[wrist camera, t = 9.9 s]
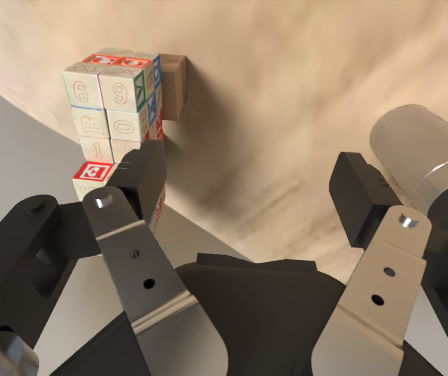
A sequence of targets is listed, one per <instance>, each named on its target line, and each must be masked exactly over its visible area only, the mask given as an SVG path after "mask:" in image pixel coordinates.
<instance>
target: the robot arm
mask: <svg viewBox="0 0 448 376" xmlns="http://www.w3.org/2000/svg"><path fill="white" fill-rule="evenodd" d="M370 145H371V148H372V150H373V151H374V152H375V154H376V155H377V156H378V158H379V159H380V160H381V162H382V163H383V165H384V166H385V167H386V169H387V170H388V171H389V173H390V174H391V175H392V177H393V178H394V179H395V180H396V182H397V183H398V184H399V186H400V187H401V188H402V190H403V191H404V192H405V194H406V195H407V196H408V198H409V199H410V200H411V202H412V203H413V204H414V206H415V207H416V208H417V210H418V211H417V210H415V209H413V208H411V207H407V206H403V204H402V203H401V201H400V200H399V199H398V197H397V196H396V194H395V193H394V191H393V190H392V188H391V187H389V184H388V183H387V181H385V178H384V177H383V176H382V174H381V173H380V171H378V170H377V169H376V168H374V167H373V166H372V165H370V164H367V163H366V161H365V160H364V158H363V157H362V155H361V154H360V153H355V152H341V153H340V154H339V156H338V158H337V161H336V164H335V167H334V170H333V173H332V175H331V178H330V182H329V192H330V195H331V197H332V200H333V202H334V205H335V207H336V210H337V212H338V215H339V218H340V220H341V223H342V225H343V228H344V230H345V233H346V235H347V238H348V240H349V243H350V245H351V247H356V248H363V249H364V253H363V255H362V257H361V258H360V260H359V262H358V264H357V266H356V267H355V269H354V271H353V273H352V275H351V277H350V278H349V280H348V282H347V284H346V286H345V285H344V284H343V283H341V282H340V281H338V280H337V279H335V278H333V277H331V276H329V275H327V274H325V273H322V272H320V271H317V267H316V263H315V261H306V260H291V259H284V260H277V261H271V262H265V263H252V262H249V261H245V260H242V259H238V258H235V257H231V256H228V255H219V254H204V253H198V255H197V261H196V262H192V263H188V264H185V265H182V266H180V267H177V268H175V269H174V267H173V266H172V264H171V263H170V261H169V259H168V258H167V256H166V254H165V253H164V251H163V250H162V248H161V246H160V245H159V243H158V241H157V240H156V238H155V236H154V235H153V233H152V232H151V230H150V228H149V227H148V226H149V223H150V221H151V218H152V215H153V213H154V210H155V207H156V205H157V202H158V199H159V197H160V194H161V191H162V189H163V186H164V183H165V180H166V162H165V153H164V144H163V141H162V140H155V139H145V140H144V141H143V143H142V145H141V146H140V148H139V149H133V150H131V151H130V152H128V153H127V154H125V155H124V157H123V158H122V160H121V161H120V163H119V164H118V166H117V169H115V171H114V172H113V174H112V175H111V177H110V178H109V180H108V181H107V183H106V184H105V186H104V187H99V188H96V189H93V190H91V191H90V192H88V193H87V194H86V195H85V196H84V198H83V200H82V201H81V202H75V203H69V204H62V205H59V204H58V202H57V200H56V198H55V197H53V196H51V195H36V196H32V197H29V198H26V199H24V200H22V201H20V202H19V203H18V204H16V205H15V206H14V207H13V208H12V209H11V210H10V212H9V213H8V214H7V215H6V216H5V217H4V218H3V219H2V221H1V222H0V376H37V372H38V369H39V359H38V356H37V355H36V353H35V352H34V351H33V349H34V347H35V345H36V343H37V341H38V339H39V337H40V335H41V333H42V331H43V329H44V327H45V325H46V323H47V321H48V319H49V317H50V315H51V313H52V311H53V309H54V307H55V305H56V303H57V301H58V299H59V297H60V295H61V293H62V291H63V289H64V287H65V285H66V283H67V281H68V279H69V277H70V275H71V273H72V271H73V269H74V267H75V265H76V263H77V261H78V259H79V258H85V257H90V256H94V255H100V254H101V255H102V257H103V260H104V262H105V265H106V267H107V270H108V272H109V274H110V277H111V280H112V282H113V285H114V287H115V290H116V292H117V295H118V298H119V300H120V303H121V305H122V308H123V310H124V311H123V312H122V313H120V314H119V315H118V316H117V317H116V318H115V319H113V320H112V321H111V322H110V323H109V324H108V325H107V326H106V327H104V328H103V329H102V330H101V331H100V332H98V333H97V334H96V335H95V336H94V337H93V338H92V339H90V340H89V341H88V342H87V343H86V344H85V345H83V346H82V347H81V348H80V349H79V350H78V351H76V352H75V353H74V354H73V355H72V356H71V357H70V358H69V359H67V360H66V361H65V362H64V363H63V364H61V366H59V367H58V368H57V369H56V370H55V371H53V372H52V373H51V374H50V375H49V376H443V375H442V374H441V373H440V372H439V371H438V370H437V369H435V368H434V367H433V366H432V365H431V364H430V363H429V362H428V361H427V360H426V359H425V358H424V357H422V355H421V354H419V353H418V352H417V351H416V350H415V349H414V348H413V347H412V346H411V345H410V344H409V343H408V342H406V341H405V340H404V337H405V333H406V330H407V326H408V323H409V320H410V316H411V313H412V310H413V306H414V303H415V300H416V296H417V293H418V290H419V286H420V284H421V286H422V288H423V290H424V291H425V293H426V296H427V297H428V299H429V301H430V303H431V305H432V307H433V309H434V311H435V313H436V315H437V317H438V319H439V321H440V323H441V325H442V327H443V329H444V331H445V333H446V335H447V337H448V122H446V121H445V120H443V119H442V118H441V117H439V116H436V115H435V114H434V113H432V112H431V111H429V110H428V109H427V108H425V107H423V106H420V105H405V106H402V107H398V108H396V109H394V110H392V111H390V112H389V113H387V114H386V115H384V116H383V117H382V118H381V119H380V120H379V121H378V122H377V123H376V125H375V126H374V128H373V130H372V132H371V135H370Z"/></svg>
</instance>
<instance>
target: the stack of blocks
mask: <svg viewBox="0 0 448 376" xmlns="http://www.w3.org/2000/svg"><path fill="white" fill-rule="evenodd" d="M62 75H63V78H64V82H65V85H66V89H67V92H68V96H69V99H70V103H71V104H72V106H71V109H72V113H73V117H74V120H75V124H76V127H77V131H78V134H79V140H80V143H81V147H82V150H83V153H84V157H85V159H86V160H87V161H86V162H85V163H84V164H83V165H82V167H81V168H80V169H79V170H78V172H77V173H76V174H75V175H74V177H73V183H74V186H75V189H76V192H77V195H78V197H79V200H80V201H82V200H83V198H84V196H85V195H86V194H87V193H88V192H90V191H91V190H93V189H96V188H99V187H104V186H105V184H106V183H107V181H108V180H109V178H110V177H111V175H112V174H113V172H114V171H115V169H117V166H118V164H119V163H120V161H121V160H122V158H123V157H124V155H125V154H127V153H128V152H130V151H131V150H133V149H139V148H140V146H141V145H142V143H143V141H144V140H145V139H155V140H162V141H163V129H162V109H161V108H162V85H161V67H160V54H155V53H147V52H139V51H132V50H125V49H117V48H104V49H102V50H101V51H99V52H98V53H96V54H93V55H91V56H90V57H88V58H86V59H84V60H83V61H82V62H77V63H76V64H74V65H72V66H70V67H69V68H67V69H65V70H63V71H62ZM164 153H165V151H164ZM165 182H166V181H165ZM164 200H165V183H164V186H163V189H162V191H161V194H160V197H159V199H158V202H157V205H156V207H155V210H154V213H153V215H152V218H151V221H150V223H149V226H148V227H149V228H150V230H151V232H152V233H153V235H154V233H155V229H156V226H157V221H158V218H159V215H160V211H161V209H162V207H163V204H164ZM100 255H101V254H100ZM101 256H102V255H101Z"/></svg>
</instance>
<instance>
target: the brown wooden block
mask: <svg viewBox="0 0 448 376" xmlns="http://www.w3.org/2000/svg"><path fill="white" fill-rule="evenodd" d="M155 54H156V53H155ZM160 67H161V85H162V108H161V109H162V120H173V121H178V118H179V116H180V114H181V111H182V109H183V106H184V104H185V102H186V99H187V88H186V56H184V55H170V54H160Z"/></svg>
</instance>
